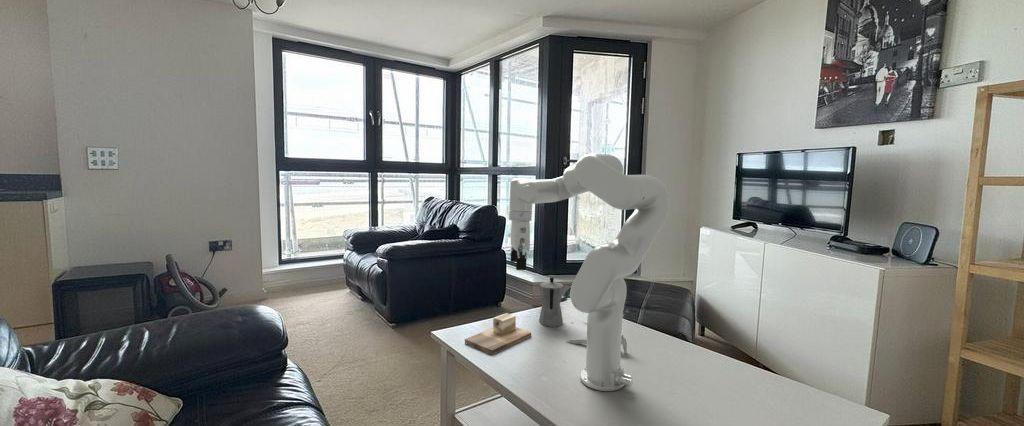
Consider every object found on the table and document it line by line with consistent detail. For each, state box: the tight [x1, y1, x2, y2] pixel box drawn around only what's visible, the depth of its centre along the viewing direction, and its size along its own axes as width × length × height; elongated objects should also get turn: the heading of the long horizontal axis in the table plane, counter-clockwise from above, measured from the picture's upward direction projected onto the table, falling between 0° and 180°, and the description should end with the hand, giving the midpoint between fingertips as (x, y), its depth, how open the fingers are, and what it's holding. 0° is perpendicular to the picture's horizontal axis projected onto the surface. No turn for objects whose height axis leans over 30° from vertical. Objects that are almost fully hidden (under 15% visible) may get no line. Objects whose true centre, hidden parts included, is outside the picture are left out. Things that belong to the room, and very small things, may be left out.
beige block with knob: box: [492, 312, 517, 335], centre depth 152 cm, size 4×9×5 cm, turn 138°
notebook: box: [464, 326, 532, 356], centre depth 147 cm, size 13×20×2 cm, turn 138°
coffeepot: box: [538, 276, 565, 327], centre depth 162 cm, size 15×9×18 cm, turn 175°
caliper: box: [566, 334, 628, 354], centre depth 141 cm, size 20×1×6 cm, turn 64°
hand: (518, 265), depth 142 cm, fingers open, 9 cm apart
